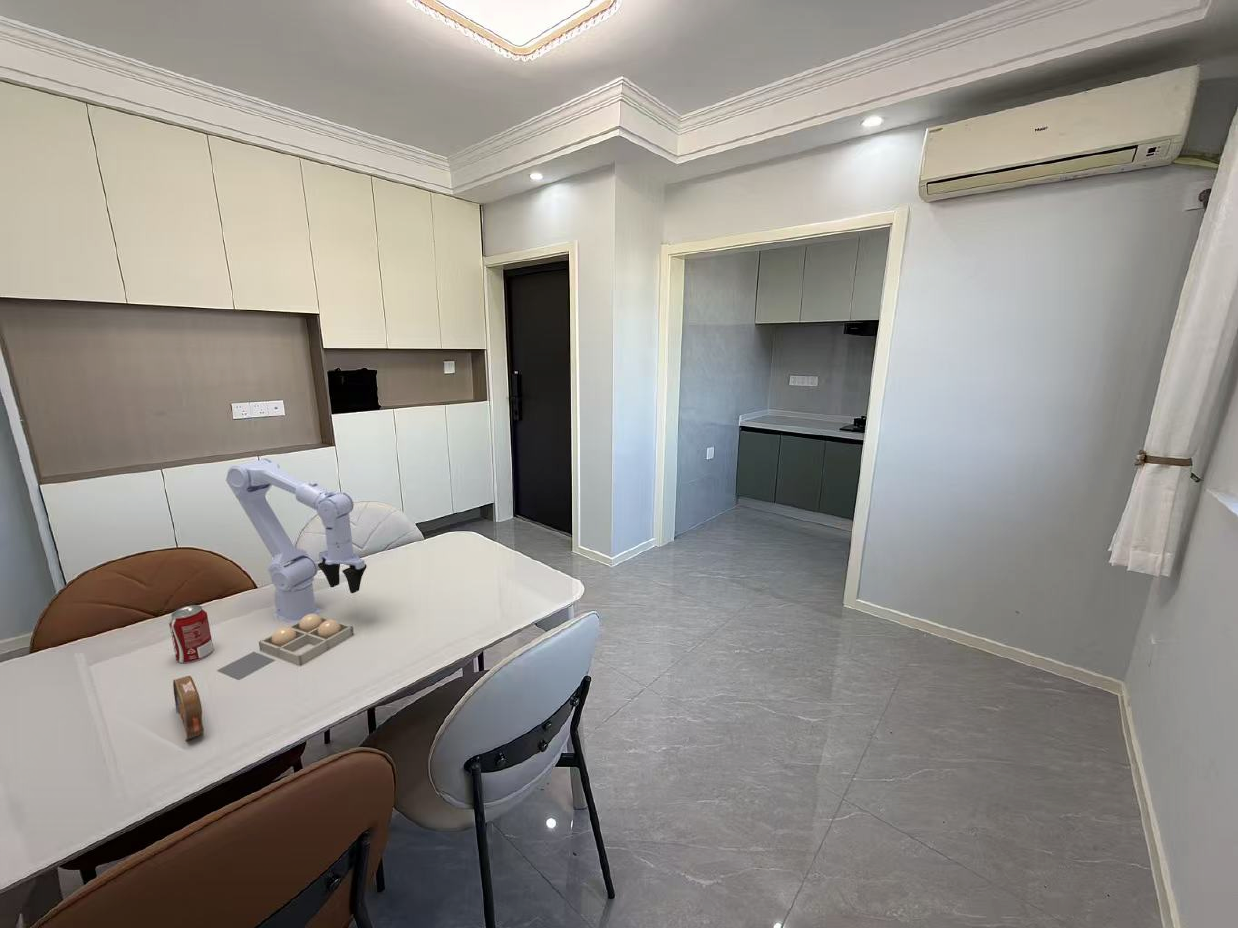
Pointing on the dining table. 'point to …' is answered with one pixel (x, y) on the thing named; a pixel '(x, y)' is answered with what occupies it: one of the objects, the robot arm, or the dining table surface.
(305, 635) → the egg tray
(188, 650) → the soda can
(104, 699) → the dining table surface
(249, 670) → the slate coaster
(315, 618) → the seated egg
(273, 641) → the loose egg
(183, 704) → the tin
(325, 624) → the seated egg
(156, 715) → the dining table surface
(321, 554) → the robot arm
